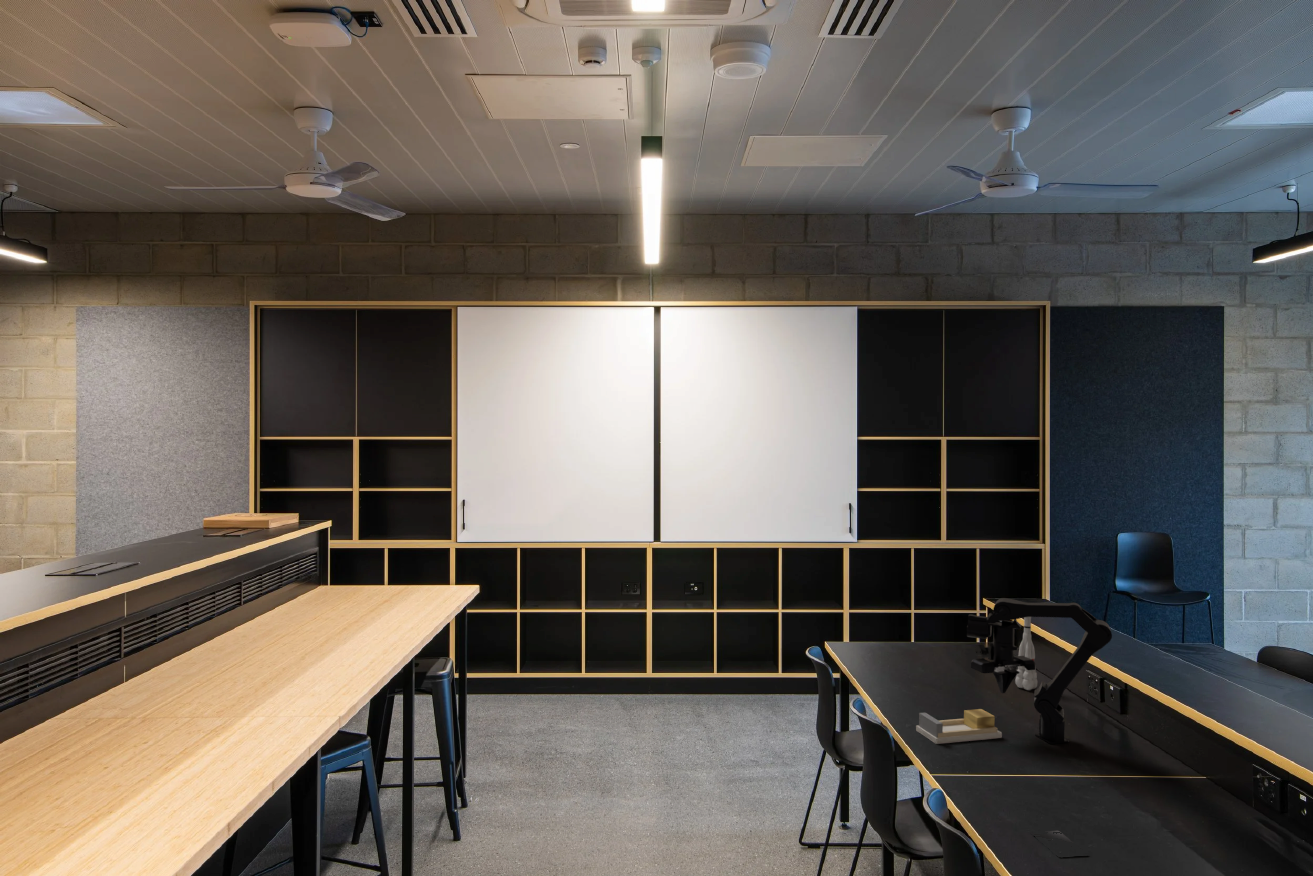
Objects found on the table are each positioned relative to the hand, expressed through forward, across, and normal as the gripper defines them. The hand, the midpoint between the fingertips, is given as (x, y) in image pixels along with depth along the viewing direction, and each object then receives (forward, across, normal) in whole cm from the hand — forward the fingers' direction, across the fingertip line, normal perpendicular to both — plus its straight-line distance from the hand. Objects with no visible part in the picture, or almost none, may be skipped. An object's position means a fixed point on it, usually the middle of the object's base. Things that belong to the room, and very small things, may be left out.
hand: (1002, 692), depth 229 cm
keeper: (+10, +8, 0) cm, 13 cm away
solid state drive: (+12, +32, +58) cm, 67 cm away
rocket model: (+12, -35, -31) cm, 48 cm away
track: (+11, +15, 0) cm, 19 cm away
